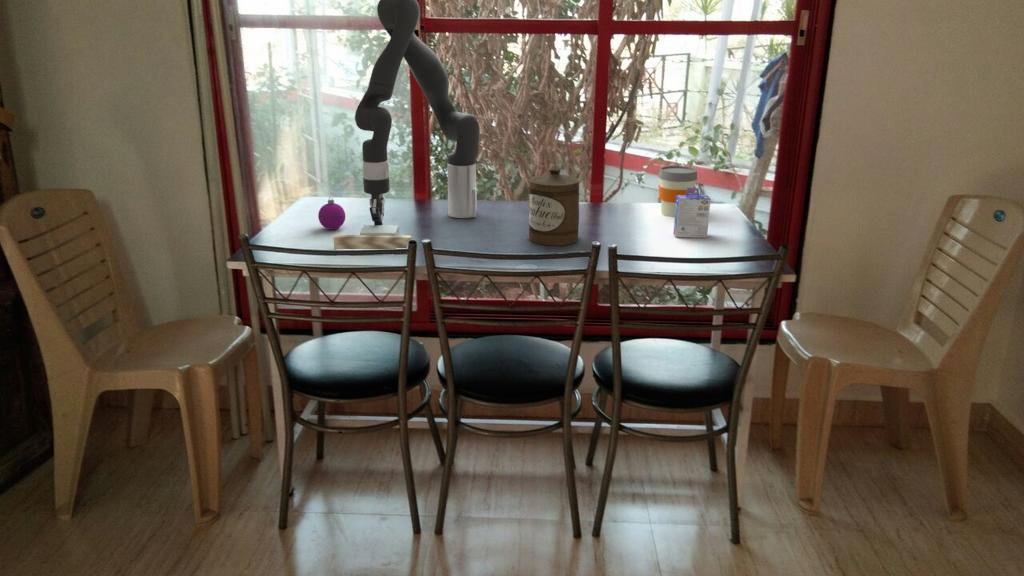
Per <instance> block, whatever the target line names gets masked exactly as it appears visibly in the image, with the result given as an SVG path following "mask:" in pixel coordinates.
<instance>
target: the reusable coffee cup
mask: <svg viewBox="0 0 1024 576" xmlns="http://www.w3.org/2000/svg"><path fill="white" fill-rule="evenodd" d="M658 172H659V173H658V179H659V184H658V198H659V200H660V211H661V212H660V213H661V215H663V216H666V217H671V218H675V205H676V195H687V188H697V187H696V181H697V180H698V170H697V169H696V168H694V167H692V166H685V165H667V166H666V165H665V166H662V167H660V168H659V171H658ZM689 193H696V191H695V190H691V191H689Z"/></svg>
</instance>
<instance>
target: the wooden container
mask: <svg viewBox="0 0 1024 576" xmlns="http://www.w3.org/2000/svg"><path fill="white" fill-rule="evenodd" d="M548 172H549V174H539V175H535V176H532V177H530V179H529V207H528V208H529V210H528V239H529V241H531V242H533V243H535V244H539V245H542V244H543V245H544V246H566V245H570V244H574V243H577V241H578V240H579V227H580V226H579V222H580V179H579V178H578V177H576V176H572V175H567V174H561V168H560V167H559V166H557V165H552V166H550V167H549V168H548Z"/></svg>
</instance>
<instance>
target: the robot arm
mask: <svg viewBox="0 0 1024 576" xmlns="http://www.w3.org/2000/svg"><path fill="white" fill-rule="evenodd" d="M376 9H377V10H376V11H377V16H378V19H379V22H380V24H381V26H382V27H383V29H384V30H385V31H386V33H387V34H388V35H389V37H390V39H389V41H388V42H387V44H386V46H385V47H384V49H383V51H382V52H381V53H380V55H379V57H378V58H377V59H376V61H375V63H374V65H373V67H372V71H371V74H370V79H369V82H368V87H367V90H366V91H365V92H364V94H363V96H362V98H361V100H360V102H359V103H358V105H357V107H356V110H355V113H354V121H355V124H356V126H357V128H358V129H360V130H362V131H365V132H366V131H367V132H373V134H372V137H371V138H369V139H367V140H364V141H363V142H362V149H361V150H362V181H363V185H362V186H363V192H364V193H365V194H369V195H370V196H371V197H370V199H369V212H370V216H371V220H372V222H373V225H383V221H384V216H385V205H386V204H385V202H386V197H385V196H384V194H387V193H389V192H390V191H391V189H390V187H391V186H390V168H389V162H388V144H389V138H390V134H391V130H392V125H393V120H392V115H391V113H390V111H389V110H388V109H387V108H386V107H383V106H380V104H381V103H383V102H388V101H390V100H391V98H392V96H393V93H394V89H395V85H396V82H397V77H398V74H399V70H400V66H401V65H402V61H403V59H404V61H405V62H406V64H407V66H408V68H409V69H410V71H411V74H412V75H413V77H414V79H415V80H416V82H417V84H418V86H419V87H420V89H421V91H422V92H423V94H424V97H425V99H426V100H427V102H428V103H429V106H430V107H431V110H432V111H433V114H434V116H435V118H436V121H437V124H438V125H439V128H440V130H441V132H442V135H444V137H445V138H446V139H448V140H450V141H451V142H455V143H456V146H455V147H456V149H455V151H453V152H450V153H448V155H447V156H446V158H447V159H446V160H447V161H446V162H447V207H448V208H447V212H448V213H447V214H448V217H450V218H455V219H469V218H476V217H477V208H478V207H477V205H478V203H477V202H478V201H477V198H478V197H477V193H478V191H477V190H478V189H477V158H478V155H479V145H480V144H479V142H480V124H479V121H478V119H477V117H476V116H475V115H473V114H471V113H466V112H465V113H464V112H460V111H458V110H457V108H456V107H455V106H454V103H453V102H452V100H451V97H450V95H449V85H450V84H449V83H450V82H449V81H450V80H449V75H448V73H447V71H446V69H445V66H444V65H443V63H442V61H441V60H440V57H438V55H437V53H435V52H434V51H433V50H432V49H431V48H430V46H428V45H427V44H426V43H425V42H424V41H422V40H421V39H420V38H419V37H418V36H417V35H416V33H415V30H416V28H417V26H418V22H419V19H420V15H421V10H420V9H421V8H420V5H419V2H418V0H378V3H377V8H376Z"/></svg>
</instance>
